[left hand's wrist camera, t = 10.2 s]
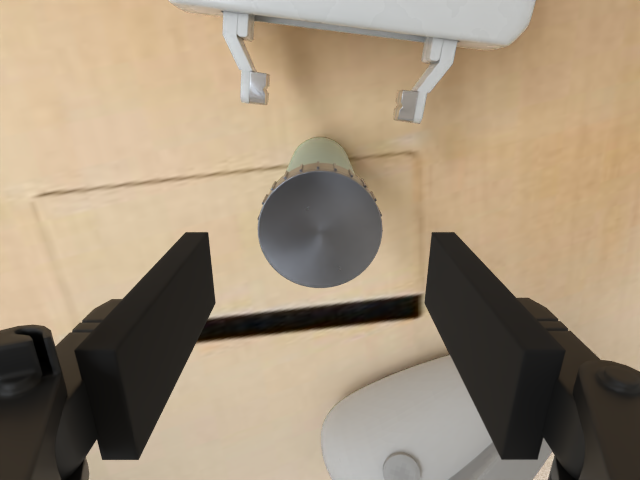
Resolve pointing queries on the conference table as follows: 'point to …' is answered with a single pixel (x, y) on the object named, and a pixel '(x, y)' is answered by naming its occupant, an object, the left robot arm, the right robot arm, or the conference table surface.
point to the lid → (320, 225)
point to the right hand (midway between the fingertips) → (331, 113)
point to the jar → (320, 154)
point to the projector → (416, 432)
